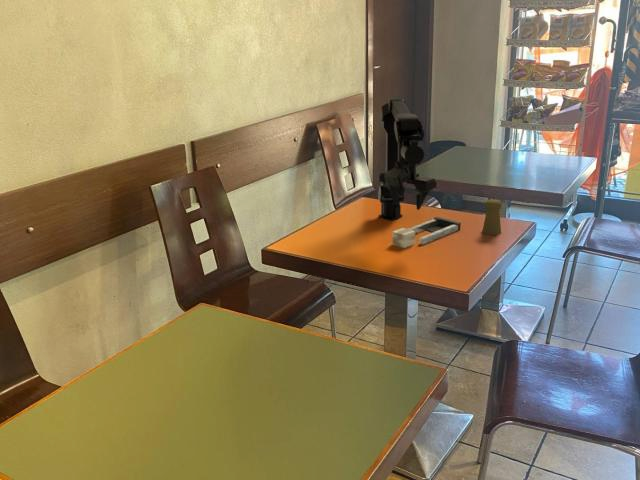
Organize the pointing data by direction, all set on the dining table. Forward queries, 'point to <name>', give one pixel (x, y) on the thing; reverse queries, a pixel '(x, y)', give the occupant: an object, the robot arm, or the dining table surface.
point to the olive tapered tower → (492, 217)
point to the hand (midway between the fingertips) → (406, 206)
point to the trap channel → (436, 229)
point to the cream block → (403, 238)
